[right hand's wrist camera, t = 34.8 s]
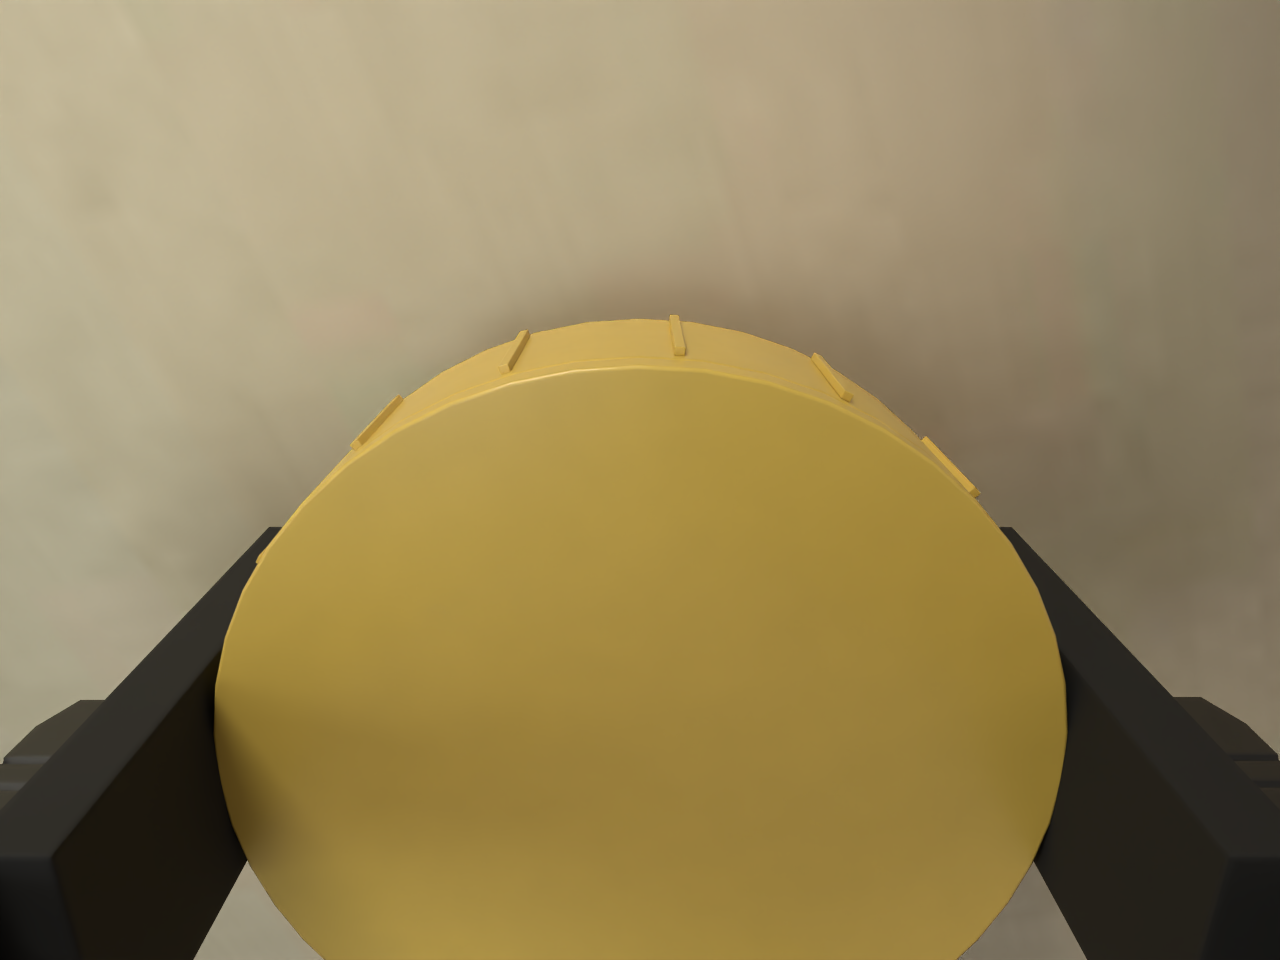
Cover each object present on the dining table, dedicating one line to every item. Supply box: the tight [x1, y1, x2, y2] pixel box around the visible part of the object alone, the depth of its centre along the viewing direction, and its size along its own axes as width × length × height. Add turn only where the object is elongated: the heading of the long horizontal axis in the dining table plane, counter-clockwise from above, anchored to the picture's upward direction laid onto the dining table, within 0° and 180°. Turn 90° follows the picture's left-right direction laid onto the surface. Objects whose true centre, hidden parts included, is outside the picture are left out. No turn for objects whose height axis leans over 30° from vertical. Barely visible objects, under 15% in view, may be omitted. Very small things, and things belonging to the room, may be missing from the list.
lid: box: [214, 315, 1068, 960], centre depth 11 cm, size 10×10×2 cm
